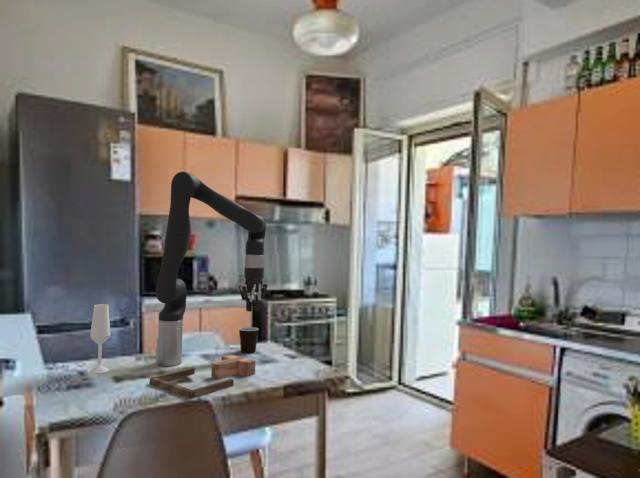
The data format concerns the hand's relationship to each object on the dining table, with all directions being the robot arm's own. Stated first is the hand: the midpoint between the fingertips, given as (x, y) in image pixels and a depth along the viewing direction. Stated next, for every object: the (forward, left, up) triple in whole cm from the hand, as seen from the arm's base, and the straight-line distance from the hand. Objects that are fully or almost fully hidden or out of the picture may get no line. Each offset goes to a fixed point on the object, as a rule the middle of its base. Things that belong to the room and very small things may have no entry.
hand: (252, 310), depth 179 cm
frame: (0, -28, -22) cm, 35 cm away
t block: (0, -12, -22) cm, 25 cm away
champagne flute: (-38, -40, -22) cm, 60 cm away
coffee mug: (-20, +19, -22) cm, 36 cm away
